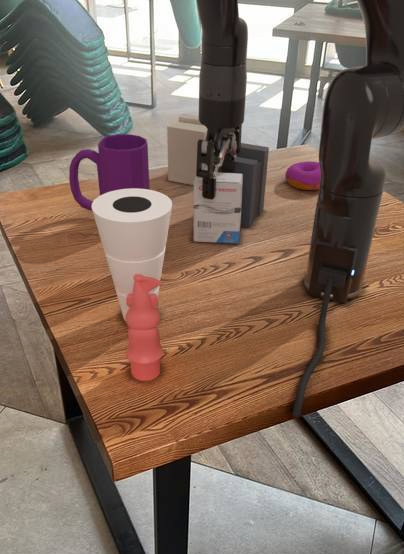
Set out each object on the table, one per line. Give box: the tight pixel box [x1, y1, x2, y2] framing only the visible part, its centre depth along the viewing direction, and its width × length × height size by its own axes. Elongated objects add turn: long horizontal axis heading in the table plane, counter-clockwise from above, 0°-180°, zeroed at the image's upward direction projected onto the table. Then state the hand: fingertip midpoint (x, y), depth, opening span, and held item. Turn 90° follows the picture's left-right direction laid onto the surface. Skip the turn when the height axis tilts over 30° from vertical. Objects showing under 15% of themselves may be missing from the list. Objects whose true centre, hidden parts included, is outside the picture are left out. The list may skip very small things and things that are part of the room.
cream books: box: [166, 113, 208, 186], centre depth 127 cm, size 8×9×12 cm
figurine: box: [124, 274, 164, 382], centre depth 73 cm, size 5×5×15 cm
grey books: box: [213, 142, 270, 229], centre depth 111 cm, size 8×9×13 cm
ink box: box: [192, 172, 243, 245], centre depth 104 cm, size 8×5×12 cm, turn 84°
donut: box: [284, 160, 321, 191], centre depth 126 cm, size 10×10×5 cm
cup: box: [91, 188, 173, 322], centre depth 82 cm, size 11×11×18 cm
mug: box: [68, 133, 151, 212], centre depth 109 cm, size 9×16×15 cm, turn 83°
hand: (218, 189), depth 102 cm, fingers open, 8 cm apart
